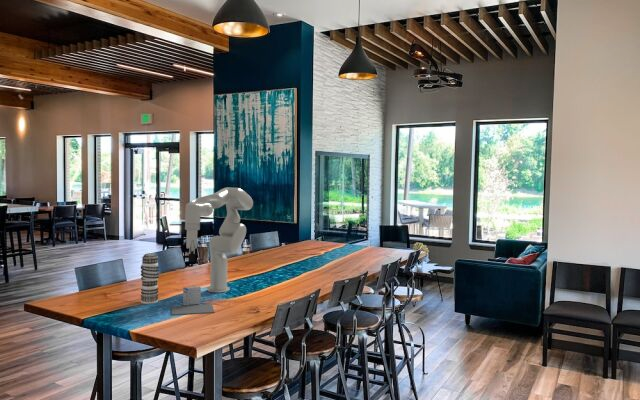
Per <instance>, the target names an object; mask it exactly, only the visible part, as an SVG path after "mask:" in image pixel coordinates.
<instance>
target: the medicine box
mask: <svg viewBox="0 0 640 400" xmlns="http://www.w3.org/2000/svg"><path fill="white" fill-rule="evenodd" d="M182 291H183V293H182V296H183V297H182V306H184V305H187V306H189V305H200V304H201V298H202V297H201V296H202V295H201V294H202V293H201V291H202V287H201V286H199V285H198V286H197V285H195V286H193V285H192V286H187V287H183V289H182Z"/></svg>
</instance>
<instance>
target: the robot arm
mask: <svg viewBox="0 0 640 400" xmlns="http://www.w3.org/2000/svg"><path fill="white" fill-rule="evenodd" d="M223 206H225V207H226V216H225V218H224V220H223V223H222V224H221V226H220V227H219V231H218V234H219V235H216V236H212V237H211V238H210V239H209V243H208V244H209V251H210V252H209V253H210V275H209V276H210V279H209V280H210V282H209V287H207V289H206V290H207V292H210V293H218V294H219V293H226V292H229V291H230V289H231V288H230V286H228V257H227V255H226V254H228V255H229V254H230V255H231V254H232V255H233V254H236V253H237V252H238V251H239V250H240V248H241V247H242V246H241V245H242V244H243V242H244V240H245V237H246V234H247V227H246V225H245V224H243V223H241V216H240V214H239V211H249V210H251V209H252V208H253V206H254V200H253V199H252V196H250V195H249V194H248V193H247V192H246V191H245V190H243V189H241V188H240V187H228V186H227V187H224V188H221V189H219V190H218V191H217V192H214V193H212V194H207V195H204V196H201V197H200V196H199V197H197V198H194V199H192V200H191V201H190V202H188V203H186V204H185V211H184V213H185V216H184V217H185V220H184V221H185V222H184V230H186V244H185V245H186V249H189V250H188V262H190V263H192V262H193V263H194V262H195V261H196V253H195V252H196V249H197V245H198V231H200V229H201V217H209V216H211V215H212V214H213V211H214V209H220V208H221V207H223Z"/></svg>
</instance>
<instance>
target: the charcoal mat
mask: <svg viewBox="0 0 640 400" xmlns="http://www.w3.org/2000/svg"><path fill="white" fill-rule="evenodd" d="M170 311H171V316H181V315H182V316H183V315H198V314H200V315H201V314H214V313H215V309H214V306H213V303H211V304H210V303H207V304H194V305H189V306H187V305H171V310H170Z"/></svg>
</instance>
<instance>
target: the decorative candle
mask: <svg viewBox="0 0 640 400" xmlns="http://www.w3.org/2000/svg"><path fill="white" fill-rule="evenodd" d="M141 258H142V260H141V261H142V262H141V265H140V276H141V278H140V280H141V288H140V290H141V292H140V293H141V295H140V297H141V298H140V303H141V304H143V305H144V304H146V305H150V304H156V303H158V302H159V285H158V280H159V278H160V277H159V275H160V274H159V273H158V272H159V271H160V266H159V262H158V261H159V256H158V255H157V254H156V253H154V252H153V253H150V252H149V253H145V254H143V256H141Z"/></svg>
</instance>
